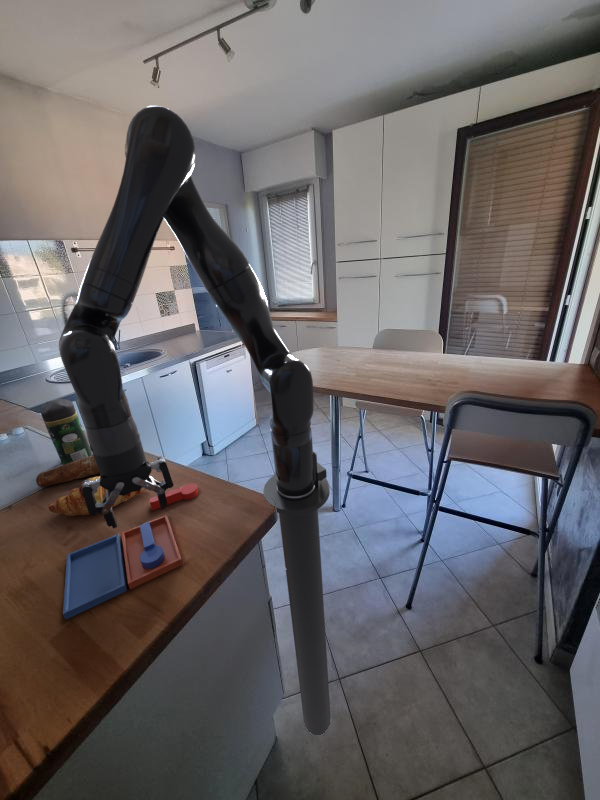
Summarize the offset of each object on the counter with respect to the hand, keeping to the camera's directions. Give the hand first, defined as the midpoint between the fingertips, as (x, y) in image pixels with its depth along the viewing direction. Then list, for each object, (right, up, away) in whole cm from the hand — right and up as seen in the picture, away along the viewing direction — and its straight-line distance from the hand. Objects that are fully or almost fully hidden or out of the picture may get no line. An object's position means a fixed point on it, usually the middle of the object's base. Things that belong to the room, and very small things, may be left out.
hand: (139, 516), depth 64 cm
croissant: (-16, -3, +15) cm, 22 cm away
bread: (-28, +1, +26) cm, 39 cm away
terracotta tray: (+2, -7, +1) cm, 7 cm away
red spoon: (+1, -1, +15) cm, 15 cm away
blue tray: (-6, -10, -3) cm, 12 cm away
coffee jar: (-35, +4, +35) cm, 50 cm away
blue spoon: (+2, -7, +1) cm, 7 cm away
